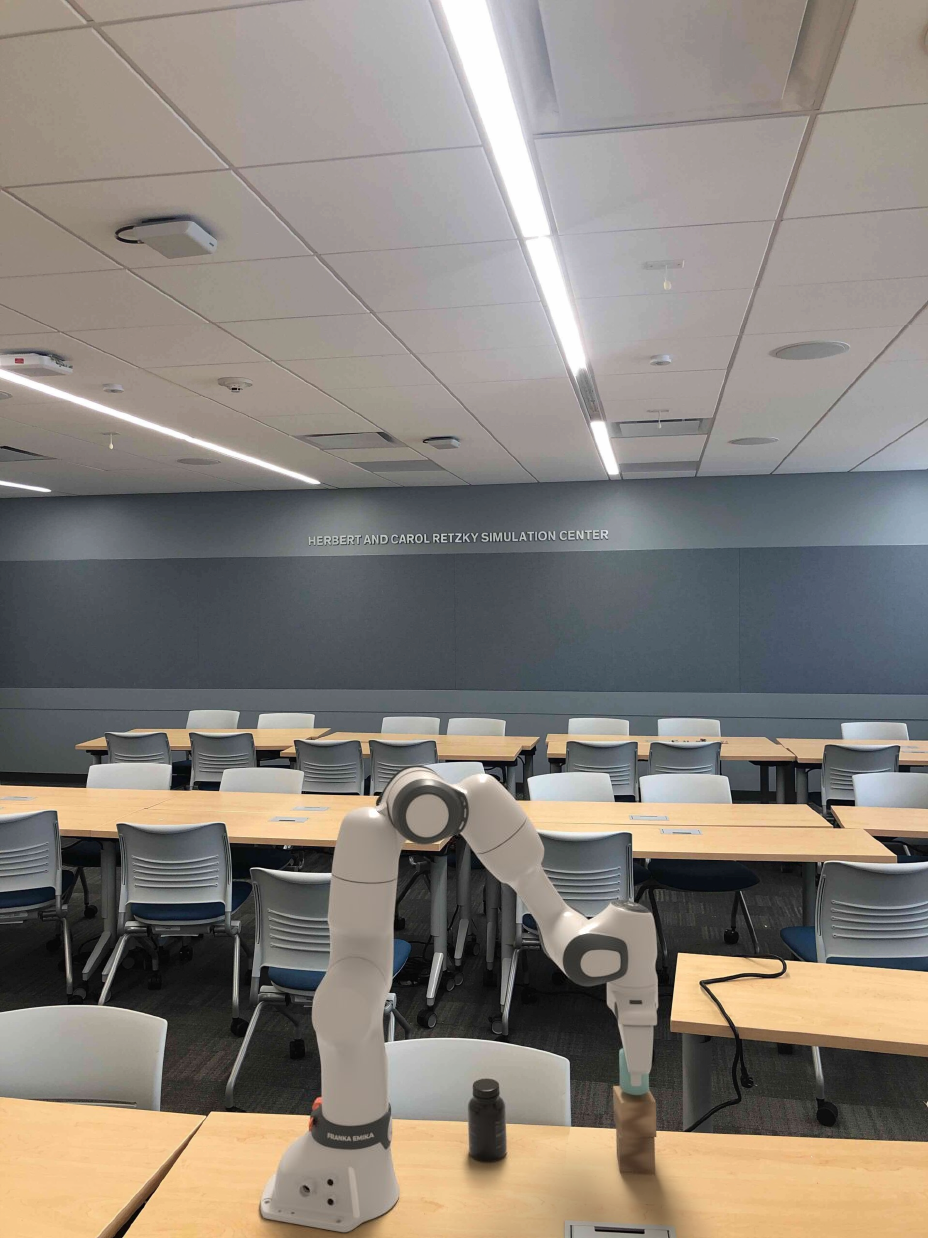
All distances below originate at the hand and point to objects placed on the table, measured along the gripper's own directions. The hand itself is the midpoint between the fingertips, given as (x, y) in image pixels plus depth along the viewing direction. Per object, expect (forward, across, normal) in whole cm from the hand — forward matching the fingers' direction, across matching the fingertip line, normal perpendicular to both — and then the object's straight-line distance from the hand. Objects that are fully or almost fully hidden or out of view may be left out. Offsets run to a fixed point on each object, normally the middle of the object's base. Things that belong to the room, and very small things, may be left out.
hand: (633, 1075), depth 156 cm
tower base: (+15, 0, 0) cm, 15 cm away
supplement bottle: (+15, -2, -26) cm, 30 cm away
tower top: (+9, 0, 0) cm, 9 cm away
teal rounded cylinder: (+2, 0, 0) cm, 2 cm away
